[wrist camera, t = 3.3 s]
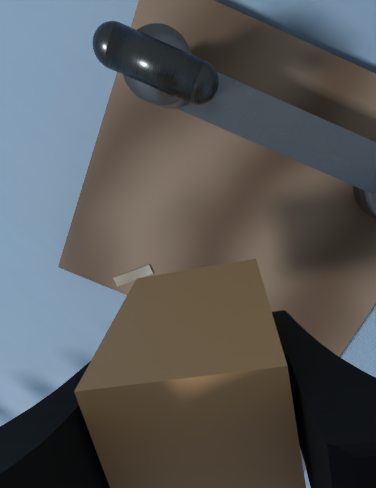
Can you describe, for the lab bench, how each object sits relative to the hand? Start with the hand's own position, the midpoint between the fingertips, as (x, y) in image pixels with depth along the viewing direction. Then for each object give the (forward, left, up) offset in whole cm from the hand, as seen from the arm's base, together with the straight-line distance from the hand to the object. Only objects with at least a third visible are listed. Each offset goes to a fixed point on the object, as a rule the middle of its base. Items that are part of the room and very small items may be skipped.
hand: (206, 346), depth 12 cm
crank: (-1, -8, -8) cm, 11 cm away
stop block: (0, 0, -2) cm, 2 cm away
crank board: (-1, -4, -9) cm, 10 cm away
